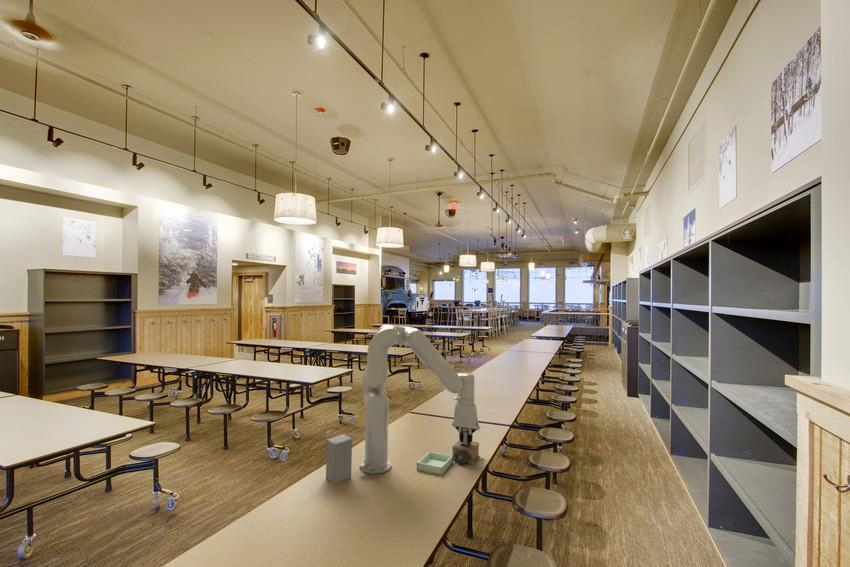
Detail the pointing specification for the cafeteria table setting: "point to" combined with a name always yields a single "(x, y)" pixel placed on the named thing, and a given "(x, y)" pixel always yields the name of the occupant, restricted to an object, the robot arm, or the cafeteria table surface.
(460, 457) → the block
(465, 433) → the lock pin
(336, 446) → the skincare box
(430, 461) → the tray
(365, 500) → the cafeteria table surface
